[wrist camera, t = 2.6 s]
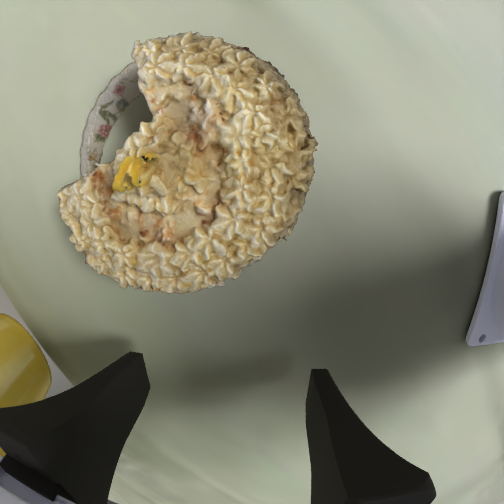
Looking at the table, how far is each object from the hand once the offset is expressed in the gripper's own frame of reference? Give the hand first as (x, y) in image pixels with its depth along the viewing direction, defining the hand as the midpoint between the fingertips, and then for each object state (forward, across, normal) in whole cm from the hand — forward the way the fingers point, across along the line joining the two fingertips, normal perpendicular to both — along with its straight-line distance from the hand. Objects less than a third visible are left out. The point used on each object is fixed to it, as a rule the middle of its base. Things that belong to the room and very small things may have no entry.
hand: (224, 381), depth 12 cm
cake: (+2, +2, -9) cm, 9 cm away
